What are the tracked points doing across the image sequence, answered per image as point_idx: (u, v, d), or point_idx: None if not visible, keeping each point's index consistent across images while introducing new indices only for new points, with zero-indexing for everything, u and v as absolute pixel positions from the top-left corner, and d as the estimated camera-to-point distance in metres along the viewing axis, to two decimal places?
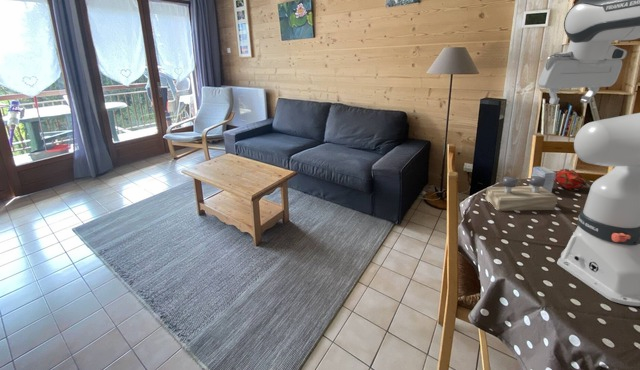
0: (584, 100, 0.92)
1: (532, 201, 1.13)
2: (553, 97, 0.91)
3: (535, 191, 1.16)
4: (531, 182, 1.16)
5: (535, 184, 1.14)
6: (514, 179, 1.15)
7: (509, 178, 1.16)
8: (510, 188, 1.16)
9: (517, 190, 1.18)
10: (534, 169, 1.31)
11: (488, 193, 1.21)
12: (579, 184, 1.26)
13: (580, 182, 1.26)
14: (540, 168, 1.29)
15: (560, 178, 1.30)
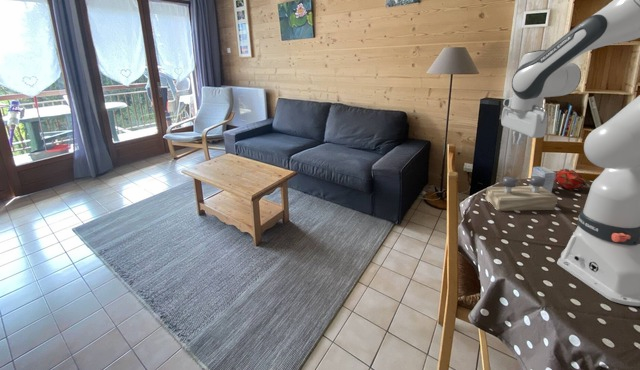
0: None
1: (532, 201, 1.13)
2: (522, 140, 1.08)
3: (535, 191, 1.16)
4: (531, 182, 1.16)
5: (535, 184, 1.14)
6: (514, 179, 1.15)
7: (509, 178, 1.16)
8: (510, 188, 1.16)
9: (517, 190, 1.18)
10: (534, 169, 1.31)
11: (488, 193, 1.21)
12: (579, 184, 1.26)
13: (580, 182, 1.26)
14: (540, 168, 1.29)
15: (560, 178, 1.30)
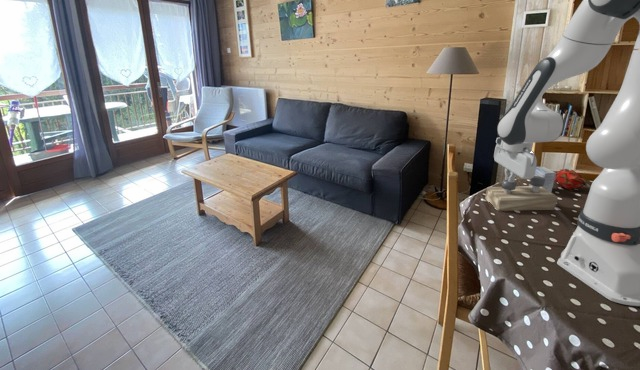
0: None
1: (532, 201, 1.13)
2: (514, 177, 1.14)
3: (535, 191, 1.16)
4: (531, 182, 1.16)
5: (535, 184, 1.14)
6: (513, 182, 1.15)
7: None
8: (509, 191, 1.16)
9: (517, 190, 1.18)
10: None
11: (488, 193, 1.21)
12: (579, 184, 1.26)
13: (580, 182, 1.26)
14: (540, 168, 1.29)
15: (560, 178, 1.30)
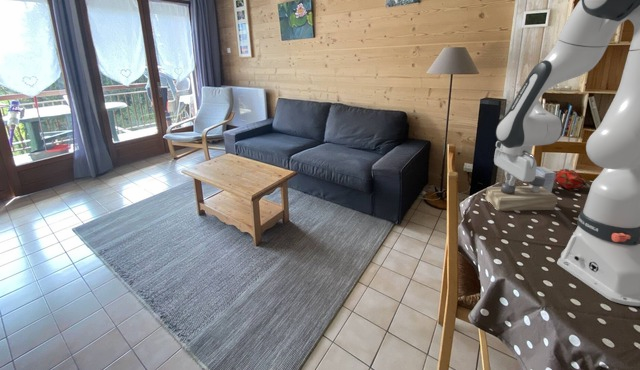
0: None
1: (532, 201, 1.13)
2: (514, 181, 1.14)
3: (535, 191, 1.16)
4: (531, 182, 1.16)
5: (535, 184, 1.14)
6: (513, 186, 1.16)
7: (508, 185, 1.17)
8: None
9: (517, 190, 1.18)
10: None
11: (488, 193, 1.21)
12: (579, 184, 1.26)
13: (580, 182, 1.26)
14: (540, 168, 1.29)
15: (560, 178, 1.30)
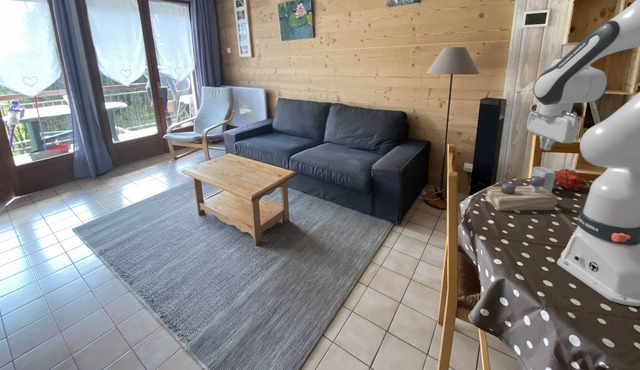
0: None
1: (532, 201, 1.13)
2: (550, 145, 1.09)
3: (535, 191, 1.16)
4: (531, 182, 1.16)
5: (535, 184, 1.14)
6: (513, 186, 1.16)
7: (508, 185, 1.17)
8: None
9: (517, 190, 1.18)
10: (534, 169, 1.31)
11: (488, 193, 1.21)
12: (579, 184, 1.26)
13: (580, 182, 1.26)
14: (540, 168, 1.29)
15: (560, 178, 1.30)
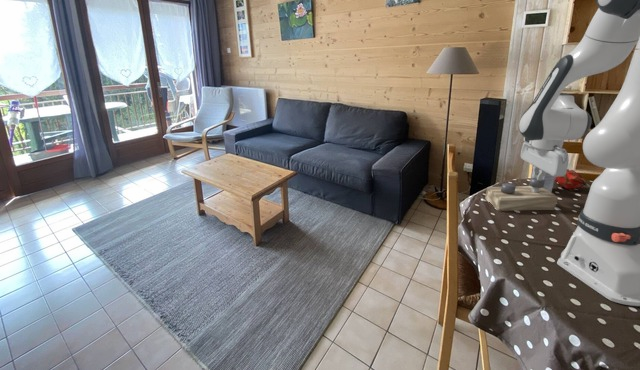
0: None
1: (532, 201, 1.13)
2: (542, 175, 1.13)
3: (535, 192, 1.16)
4: (531, 183, 1.16)
5: (534, 186, 1.15)
6: (513, 186, 1.16)
7: (508, 185, 1.17)
8: None
9: (517, 190, 1.18)
10: None
11: (488, 193, 1.21)
12: (579, 184, 1.26)
13: (580, 182, 1.26)
14: None
15: (560, 178, 1.30)
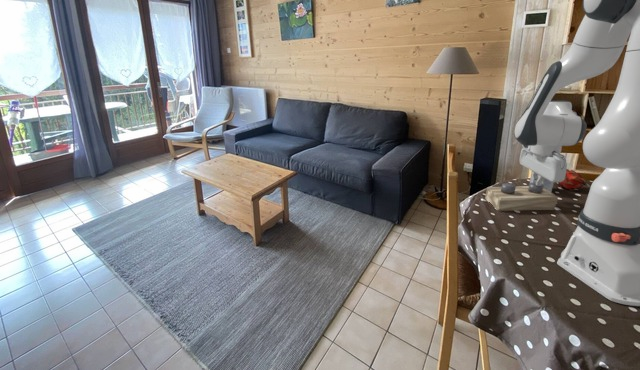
0: None
1: (532, 201, 1.13)
2: (541, 181, 1.14)
3: None
4: (529, 189, 1.17)
5: (533, 191, 1.15)
6: (513, 186, 1.16)
7: (508, 185, 1.17)
8: None
9: (517, 190, 1.18)
10: None
11: (488, 193, 1.21)
12: (579, 184, 1.26)
13: (580, 182, 1.26)
14: None
15: None
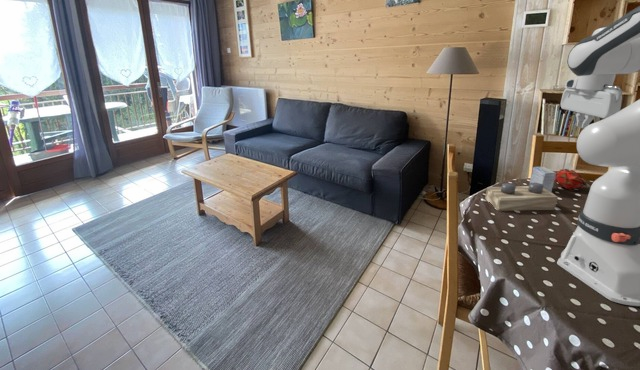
0: None
1: (532, 201, 1.13)
2: (588, 122, 1.03)
3: None
4: (529, 189, 1.17)
5: (533, 191, 1.15)
6: (513, 186, 1.16)
7: (508, 185, 1.17)
8: None
9: (517, 190, 1.18)
10: (534, 169, 1.31)
11: (488, 193, 1.21)
12: (579, 184, 1.26)
13: (580, 182, 1.26)
14: (540, 168, 1.29)
15: (560, 178, 1.30)
